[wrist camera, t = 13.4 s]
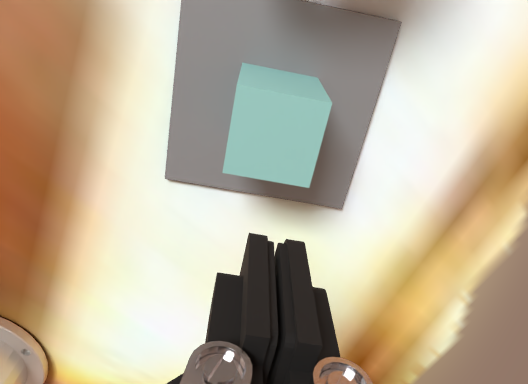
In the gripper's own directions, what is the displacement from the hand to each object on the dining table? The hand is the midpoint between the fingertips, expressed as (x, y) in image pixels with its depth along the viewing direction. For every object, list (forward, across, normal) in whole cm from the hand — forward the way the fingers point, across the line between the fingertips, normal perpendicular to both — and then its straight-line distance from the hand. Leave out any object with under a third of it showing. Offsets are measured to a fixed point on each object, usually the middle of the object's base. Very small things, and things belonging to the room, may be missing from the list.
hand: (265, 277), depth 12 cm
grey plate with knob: (+19, -1, 0) cm, 19 cm away
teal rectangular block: (+19, -1, 0) cm, 19 cm away
